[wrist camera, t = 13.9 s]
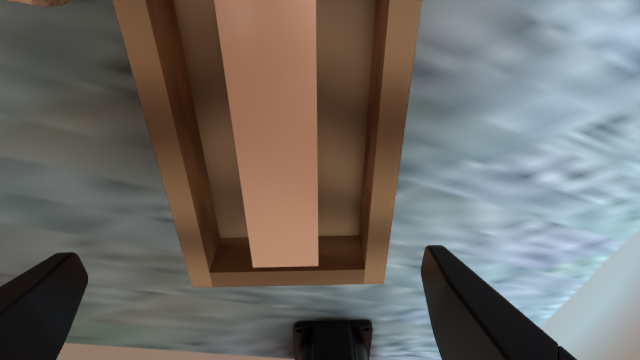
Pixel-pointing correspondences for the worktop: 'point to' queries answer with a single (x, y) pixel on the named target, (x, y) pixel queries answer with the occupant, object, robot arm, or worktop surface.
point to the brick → (43, 2)
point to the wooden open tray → (332, 135)
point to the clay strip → (274, 123)
